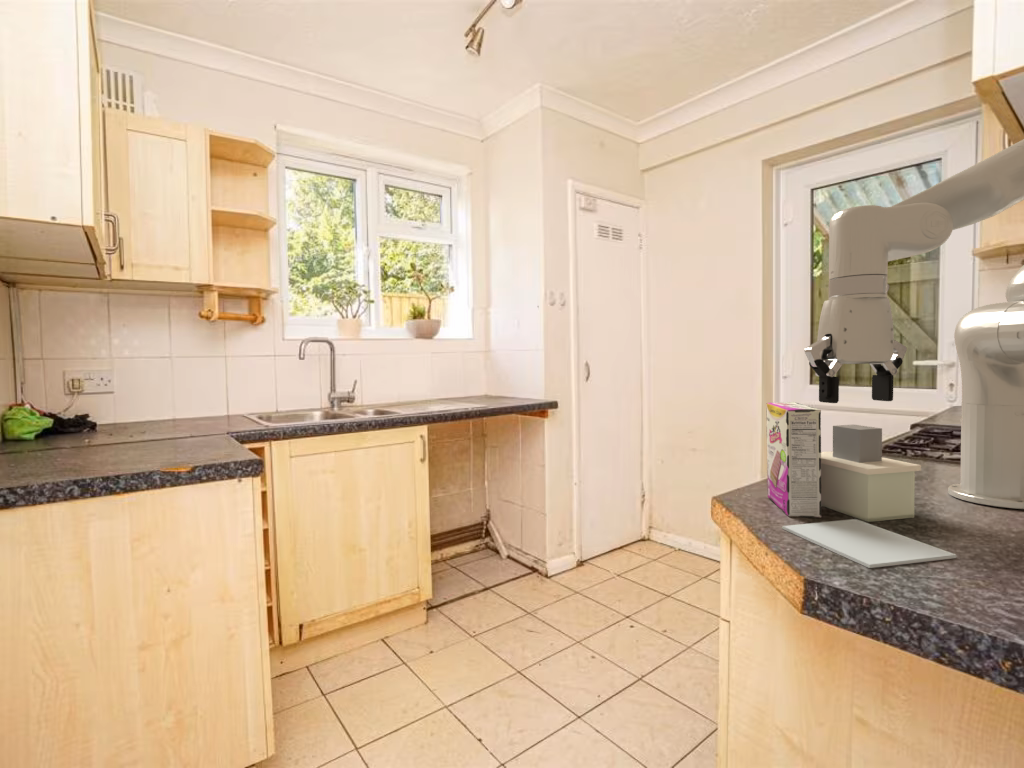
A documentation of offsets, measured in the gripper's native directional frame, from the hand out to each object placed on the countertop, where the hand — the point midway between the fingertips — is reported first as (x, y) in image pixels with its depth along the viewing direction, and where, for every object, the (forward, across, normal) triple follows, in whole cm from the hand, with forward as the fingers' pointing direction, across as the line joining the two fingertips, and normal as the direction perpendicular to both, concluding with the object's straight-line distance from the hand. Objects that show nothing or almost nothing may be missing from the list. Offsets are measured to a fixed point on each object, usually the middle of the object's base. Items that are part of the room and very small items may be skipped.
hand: (855, 401), depth 80 cm
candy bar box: (+17, +9, -3) cm, 19 cm away
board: (+17, +11, +12) cm, 24 cm away
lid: (+11, 0, 0) cm, 11 cm away
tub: (+17, 0, 0) cm, 17 cm away
